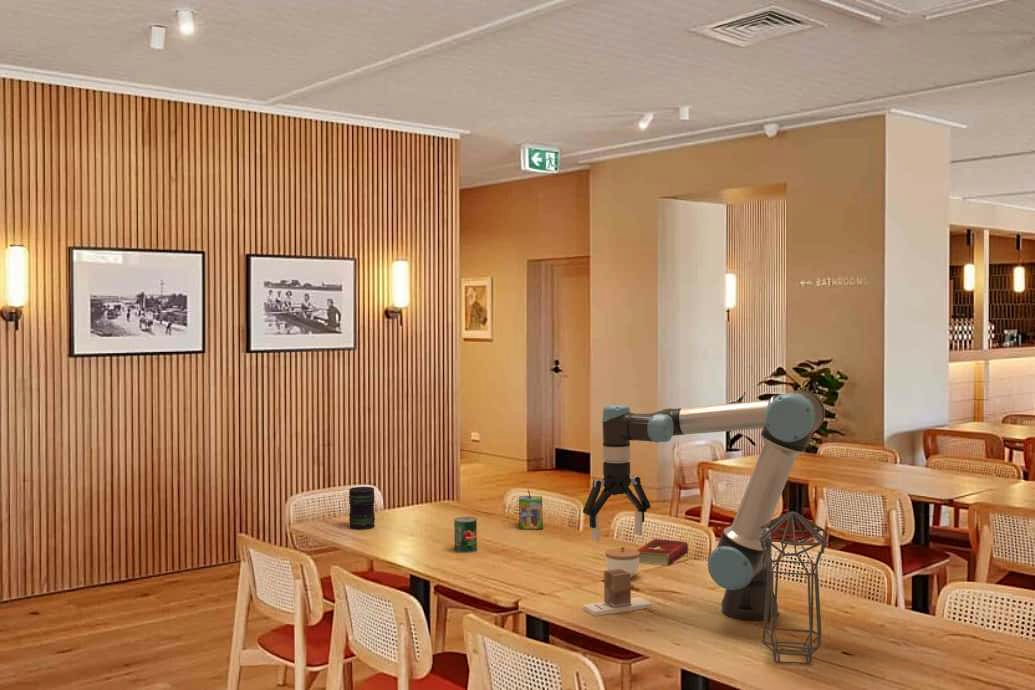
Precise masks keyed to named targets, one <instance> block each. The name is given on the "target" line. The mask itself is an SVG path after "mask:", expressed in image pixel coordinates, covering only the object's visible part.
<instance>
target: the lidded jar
mask: <svg viewBox="0 0 1035 690" xmlns="http://www.w3.org/2000/svg"><path fill="white" fill-rule="evenodd" d="M639 560H640V552H639V551H637V549H634V548H625V546H620V547H619V548H611V549H608V550H606V551H605V563H606V568H607V570H614V569H621V570H624V571H626V572H628V573H630V575H631V577H632V576H635V575H636V574H637V572H638V570H639V567H640V562H639ZM632 578H633V577H632Z"/></svg>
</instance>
